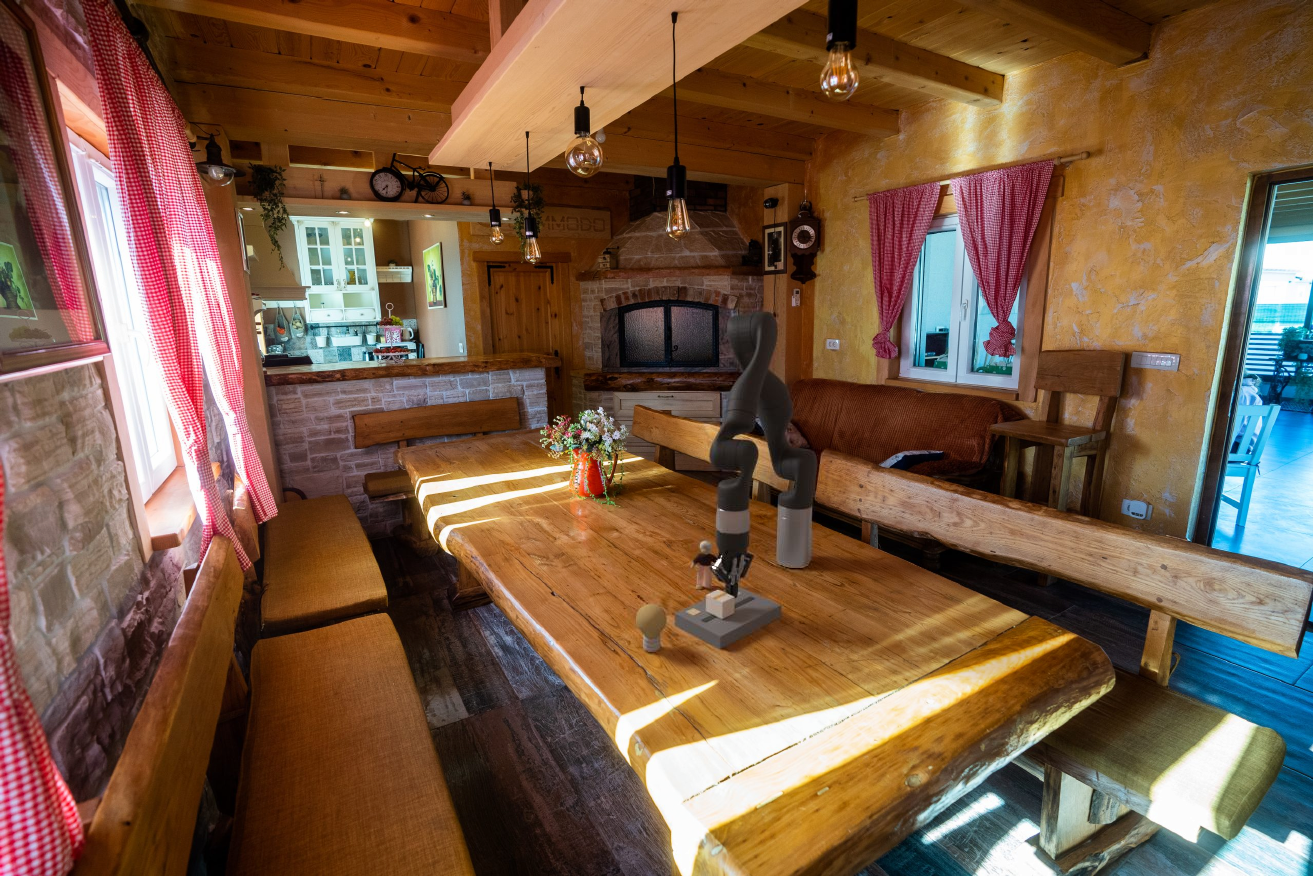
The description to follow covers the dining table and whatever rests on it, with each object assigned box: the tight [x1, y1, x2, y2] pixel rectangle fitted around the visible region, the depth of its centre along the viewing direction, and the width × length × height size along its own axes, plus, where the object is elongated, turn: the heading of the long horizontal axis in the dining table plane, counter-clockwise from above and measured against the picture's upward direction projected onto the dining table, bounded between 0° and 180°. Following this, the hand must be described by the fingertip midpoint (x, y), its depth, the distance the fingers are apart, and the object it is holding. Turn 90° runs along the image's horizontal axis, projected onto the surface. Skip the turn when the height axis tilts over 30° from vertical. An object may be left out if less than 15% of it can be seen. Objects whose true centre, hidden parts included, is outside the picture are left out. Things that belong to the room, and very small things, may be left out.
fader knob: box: [705, 589, 734, 619], centre depth 142 cm, size 4×5×4 cm
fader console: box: [674, 586, 783, 650], centre depth 145 cm, size 21×14×3 cm, turn 132°
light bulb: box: [635, 603, 668, 653], centre depth 133 cm, size 6×6×10 cm
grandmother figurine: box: [690, 540, 718, 590], centre depth 161 cm, size 8×4×13 cm, turn 105°
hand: (731, 597), depth 144 cm, fingers closed
